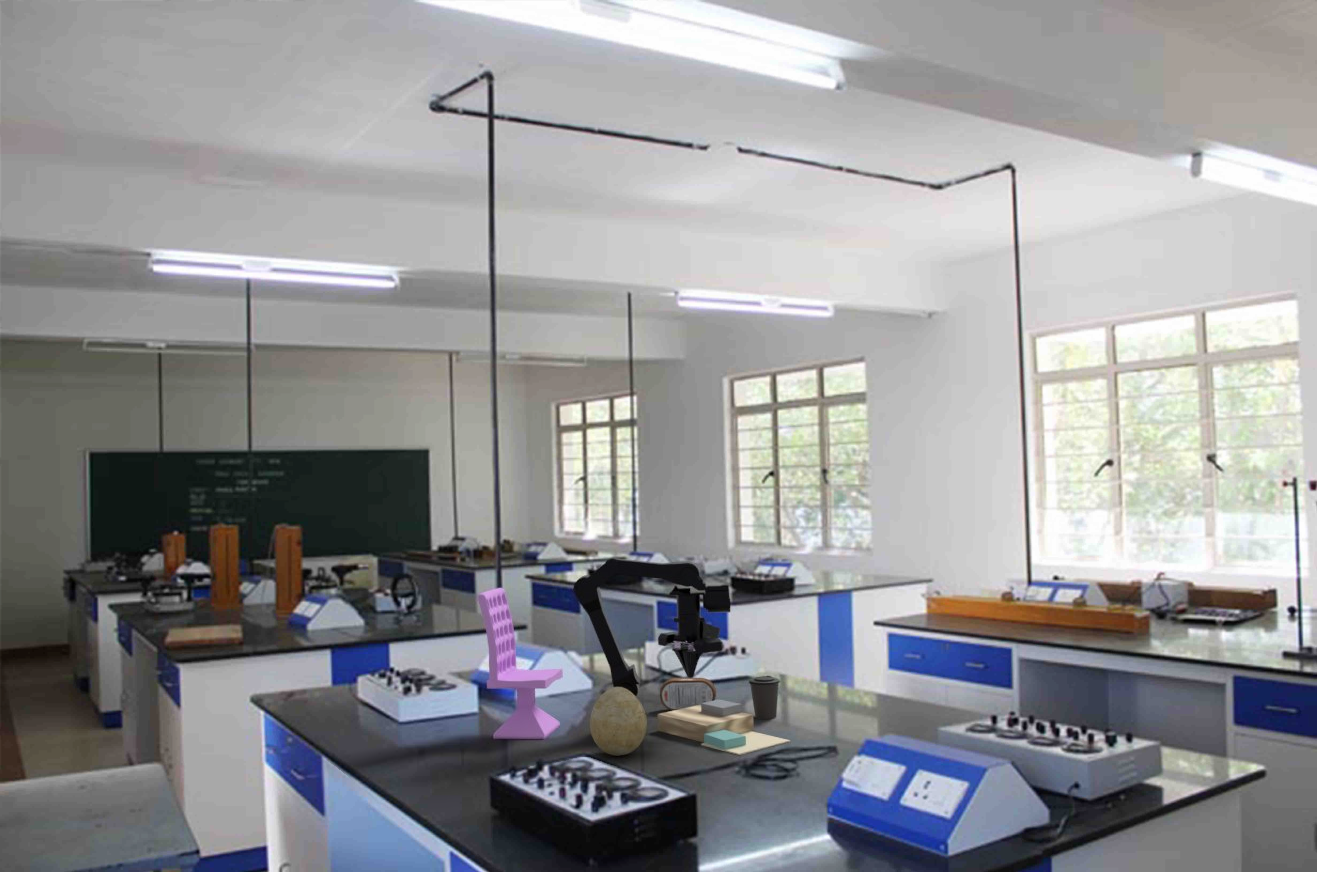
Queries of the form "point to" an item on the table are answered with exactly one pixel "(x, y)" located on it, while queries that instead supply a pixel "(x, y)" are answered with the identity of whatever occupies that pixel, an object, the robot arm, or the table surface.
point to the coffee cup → (765, 696)
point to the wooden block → (702, 723)
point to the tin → (686, 692)
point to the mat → (753, 743)
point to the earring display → (514, 672)
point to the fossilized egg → (618, 722)
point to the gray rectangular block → (721, 707)
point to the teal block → (725, 739)
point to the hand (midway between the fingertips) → (690, 677)
